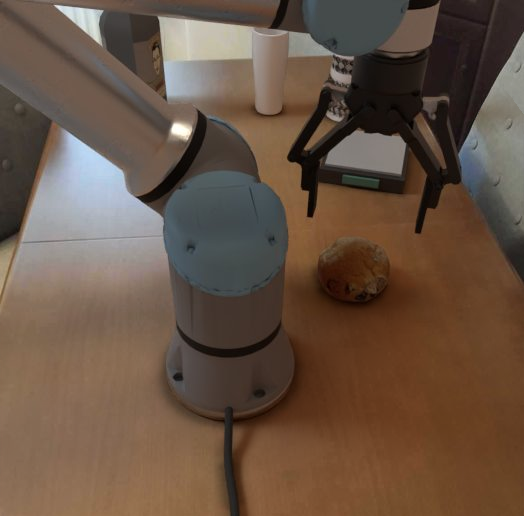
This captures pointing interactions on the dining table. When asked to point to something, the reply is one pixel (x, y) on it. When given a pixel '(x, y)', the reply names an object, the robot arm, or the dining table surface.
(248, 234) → the robot arm
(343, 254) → the bread roll
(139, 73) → the liquor
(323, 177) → the kitchen scale
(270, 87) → the drinking glass
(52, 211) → the dining table surface
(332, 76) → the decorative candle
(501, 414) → the dining table surface
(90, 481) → the dining table surface
